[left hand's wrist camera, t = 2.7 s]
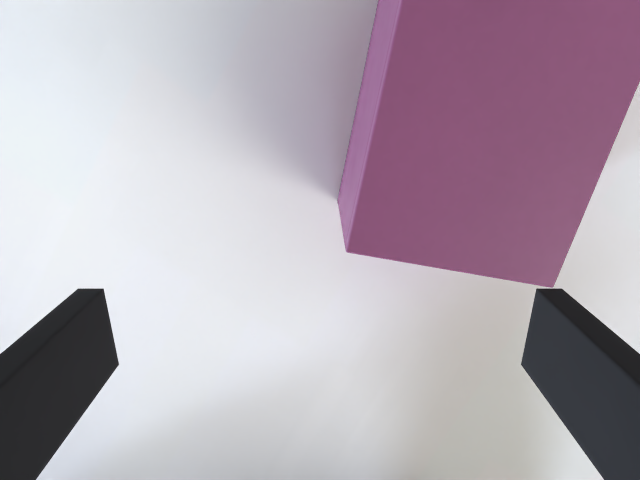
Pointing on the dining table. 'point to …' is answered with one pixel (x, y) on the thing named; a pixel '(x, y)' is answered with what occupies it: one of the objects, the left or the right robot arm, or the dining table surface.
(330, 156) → the dining table surface
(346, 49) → the dining table surface
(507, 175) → the mauve rectangular box
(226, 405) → the dining table surface
